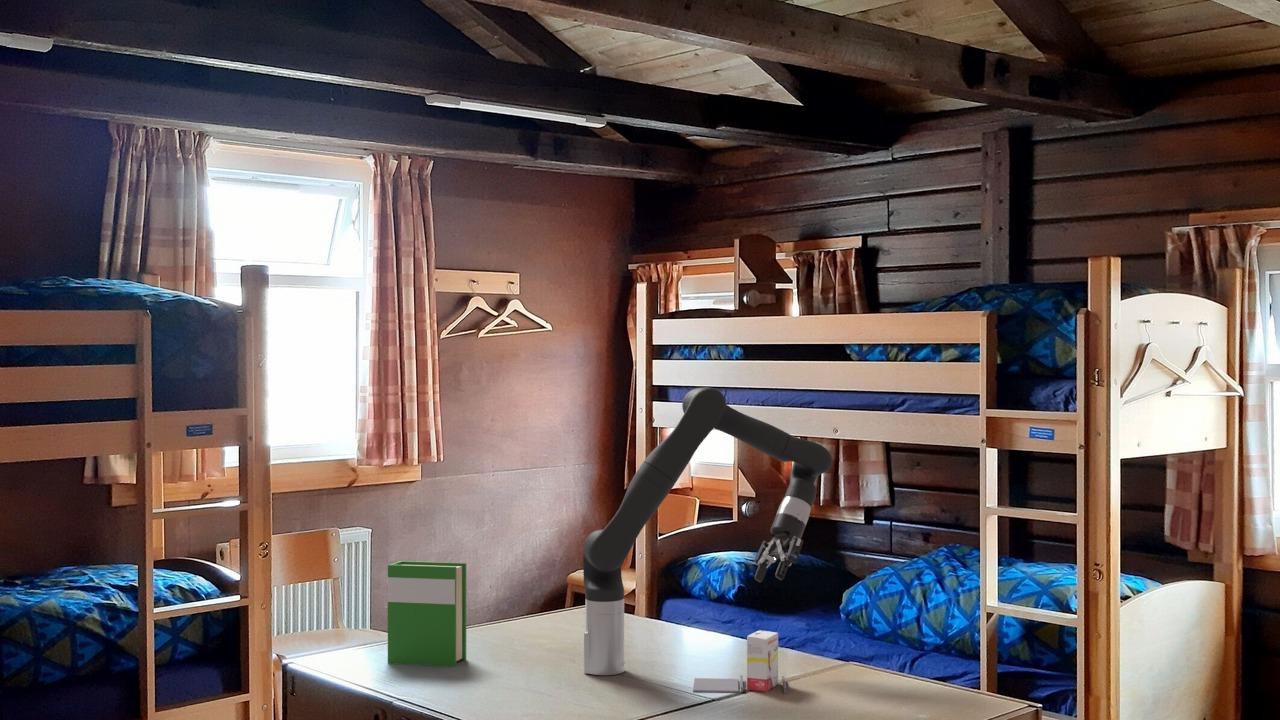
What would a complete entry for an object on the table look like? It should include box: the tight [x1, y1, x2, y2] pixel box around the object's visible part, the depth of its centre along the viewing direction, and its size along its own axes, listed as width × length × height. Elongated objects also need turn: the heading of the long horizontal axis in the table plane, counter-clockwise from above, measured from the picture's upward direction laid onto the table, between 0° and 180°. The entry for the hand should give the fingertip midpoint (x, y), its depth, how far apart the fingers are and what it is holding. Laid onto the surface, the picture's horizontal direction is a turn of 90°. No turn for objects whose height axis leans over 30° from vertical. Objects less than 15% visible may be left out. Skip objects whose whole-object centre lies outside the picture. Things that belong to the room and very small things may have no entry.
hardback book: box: [387, 560, 467, 667], centre depth 295 cm, size 18×7×24 cm, turn 77°
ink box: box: [746, 630, 779, 693], centre depth 268 cm, size 9×5×12 cm, turn 155°
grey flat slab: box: [692, 675, 787, 694], centre depth 268 cm, size 20×11×1 cm, turn 86°
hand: (768, 579), depth 282 cm, fingers open, 8 cm apart
